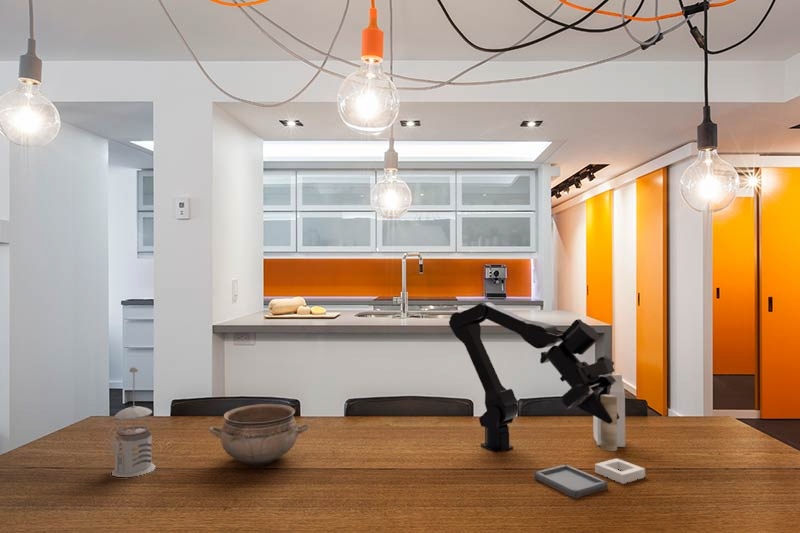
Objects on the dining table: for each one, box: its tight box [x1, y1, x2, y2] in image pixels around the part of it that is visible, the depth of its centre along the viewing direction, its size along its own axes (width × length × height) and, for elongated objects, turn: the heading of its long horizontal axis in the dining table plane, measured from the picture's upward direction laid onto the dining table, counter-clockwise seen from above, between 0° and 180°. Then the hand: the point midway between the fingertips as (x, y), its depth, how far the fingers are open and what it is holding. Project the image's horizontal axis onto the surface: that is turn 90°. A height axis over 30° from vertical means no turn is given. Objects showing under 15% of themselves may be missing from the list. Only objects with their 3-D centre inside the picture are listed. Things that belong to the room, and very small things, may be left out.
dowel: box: [600, 395, 618, 452], centre depth 119 cm, size 4×4×12 cm
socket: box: [594, 457, 646, 485], centre depth 121 cm, size 8×8×2 cm
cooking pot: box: [208, 403, 311, 467], centre depth 131 cm, size 25×19×12 cm
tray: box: [534, 463, 609, 499], centre depth 116 cm, size 12×10×2 cm
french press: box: [106, 366, 157, 477], centre depth 124 cm, size 10×12×25 cm
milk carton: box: [592, 373, 626, 448], centre depth 144 cm, size 7×7×19 cm
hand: (614, 420), depth 118 cm, fingers closed on dowel, 3 cm apart
